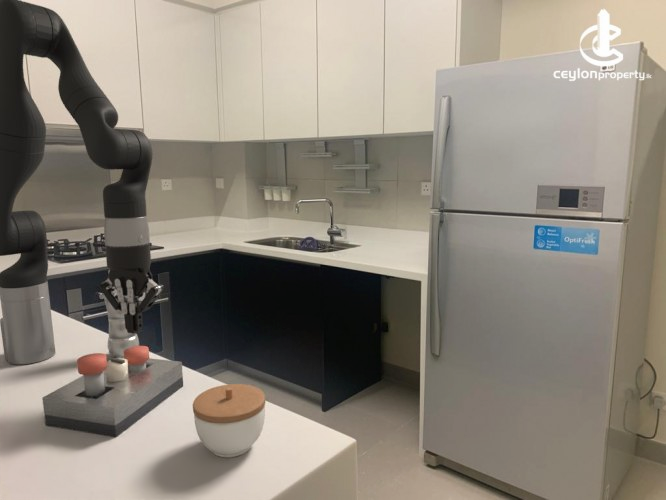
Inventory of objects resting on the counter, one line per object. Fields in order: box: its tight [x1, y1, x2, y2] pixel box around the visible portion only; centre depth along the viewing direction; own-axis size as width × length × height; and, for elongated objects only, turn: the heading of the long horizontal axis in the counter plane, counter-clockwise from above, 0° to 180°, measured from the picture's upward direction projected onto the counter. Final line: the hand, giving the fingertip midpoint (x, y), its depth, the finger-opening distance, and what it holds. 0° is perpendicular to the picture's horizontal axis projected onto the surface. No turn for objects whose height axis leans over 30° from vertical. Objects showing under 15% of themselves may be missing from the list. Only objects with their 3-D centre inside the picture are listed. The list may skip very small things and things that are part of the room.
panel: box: [42, 355, 184, 438], centre depth 88 cm, size 14×19×5 cm
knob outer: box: [76, 352, 108, 396], centre depth 82 cm, size 4×4×6 cm
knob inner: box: [124, 345, 150, 372], centre depth 93 cm, size 4×4×6 cm
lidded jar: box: [192, 383, 266, 458], centre depth 74 cm, size 11×11×9 cm
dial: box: [106, 357, 128, 382], centre depth 87 cm, size 4×4×4 cm
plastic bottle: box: [103, 269, 140, 358], centre depth 110 cm, size 6×7×20 cm
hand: (134, 332), depth 92 cm, fingers closed
